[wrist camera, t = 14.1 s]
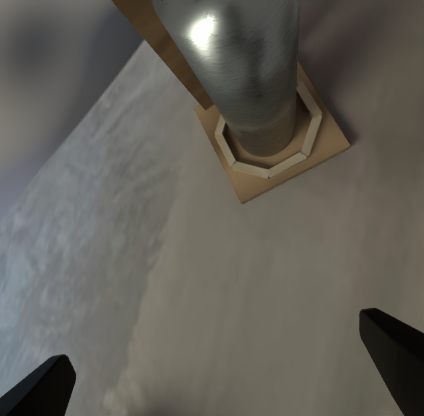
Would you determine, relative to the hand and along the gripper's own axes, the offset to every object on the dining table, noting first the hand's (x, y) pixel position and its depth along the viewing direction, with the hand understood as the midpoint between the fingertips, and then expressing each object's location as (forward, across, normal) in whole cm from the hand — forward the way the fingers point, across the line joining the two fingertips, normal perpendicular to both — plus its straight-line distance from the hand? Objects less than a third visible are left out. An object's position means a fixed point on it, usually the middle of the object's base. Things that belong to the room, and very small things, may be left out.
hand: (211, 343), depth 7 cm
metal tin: (+14, -5, -5) cm, 16 cm away
